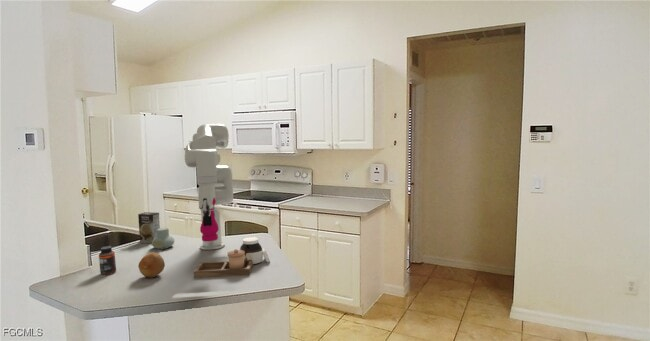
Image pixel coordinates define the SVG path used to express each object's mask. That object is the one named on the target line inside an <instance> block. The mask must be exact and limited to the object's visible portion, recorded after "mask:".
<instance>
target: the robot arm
mask: <svg viewBox="0 0 650 341" xmlns="http://www.w3.org/2000/svg"><path fill="white" fill-rule="evenodd" d="M229 135H230V134H229V130H228V128H227V126H226V124H225V125H224V124H223V123H222V124H221V123H216V124H215V123H209V124H208V123H207V124H202V125H199V126H198V127H197V130H196V133H194V134H192V141H189V142H188V143H187V145H186V147H185V150H184V162H185V164H186V166H187V167H188V168H196V177H197V178H196V179H197V180H196V181H197V185H198V195H197V196H198V209H199V210H200V216H201V217H200V218H201V222H202V221H203V225H204V226H211V225H212V218H211V208H212V207H213V198H215V200H216V203H215V205H214V207H215V210H214V217H215V220H216V222H217V224H218V228H219V230H218V232H217V233H216V234H217V235H218V239H217V240H214V241H202V243H201V244H200V245H199V249H201V250H204V251H213V250H217V249H222V248H224V247H225V246H226V243H225V242H224V241H222V224H221V223H222V222H221V219H222V218H221V212H220V210H219V209H218V208H217V207H216V206H220V205H229V204H232V203H233V202H234V184H233V173H232V169H231V167H230V166H228V165H219V164H220V163H221V154H220V152H219V151H218V150H217V149H225V148H227V147H228V145H229V139H230V138H229V137H230V136H229ZM215 185H221V186H215ZM222 185H223V186H222ZM207 207H209V208H207ZM202 208H203V211H202ZM207 210H209V212H208V211H207ZM202 235H203V234H202V233H201V236H202Z"/></svg>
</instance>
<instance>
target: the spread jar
mask: <svg viewBox="0 0 650 341" xmlns="http://www.w3.org/2000/svg"><path fill="white" fill-rule="evenodd" d="M239 250H243V251H245V254H244V260H252V263H253V266H256V265H259V264H261V263H262V262H263V261H264V260H265V261H266V263H270V262H271V260H270V258H269V254H268V253H267V251H266V249H265V248H262V246H261V244H260V243H259V238H258V237H255V236H251V237H246V238H243V239H242V244H241V245H240V248H239ZM263 259H264V260H263Z"/></svg>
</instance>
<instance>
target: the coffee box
mask: <svg viewBox="0 0 650 341" xmlns="http://www.w3.org/2000/svg"><path fill="white" fill-rule="evenodd" d="M137 215H138V216H137V217H138V231H139V232H138V233H139V243H144V244H146V243H147V244H149V243H150V244H152V241H153V240H154V239H155V238H156V237H157V231H156V230H157V229H159V228H161V225H160V224H161V223H160V222H161V221H160V212H150V211H148V212H147V211H146V212H142V213H138V214H137Z"/></svg>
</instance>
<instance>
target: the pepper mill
mask: <svg viewBox="0 0 650 341" xmlns="http://www.w3.org/2000/svg"><path fill="white" fill-rule="evenodd" d="M215 203H216V200H215V198H213V207H212V208H211V218H212V225H211V226H204V225H203V221H202V220H201V225H200V228H199V230H200V233H201V241H202V242H203V241H214V240H217V239H218V235H217V234H216V233H217V232H218V230H219V228H218V224H217V222H216V220H215V217H214V210H215V207H216V205H215ZM214 205H215V207H214ZM207 208H209V207H207ZM202 211H203V208H202ZM207 211H208V212H209V210H207ZM202 234H203V235H202Z"/></svg>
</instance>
